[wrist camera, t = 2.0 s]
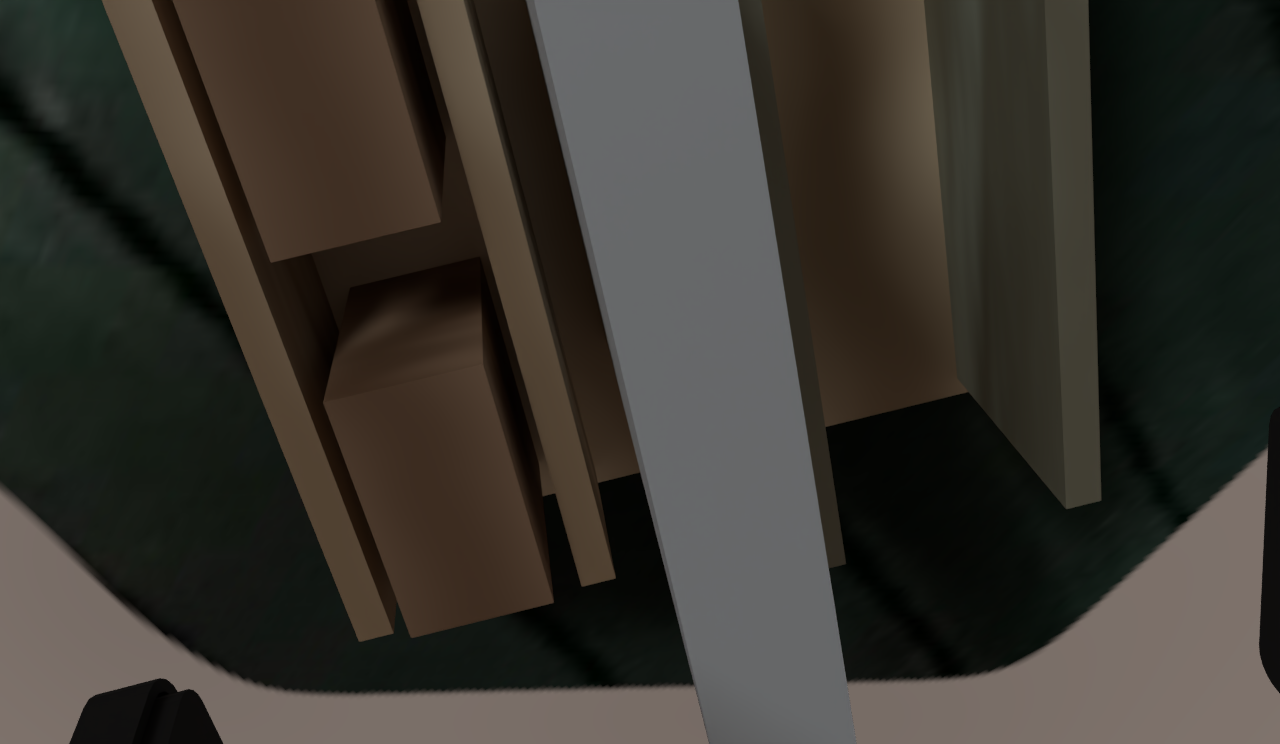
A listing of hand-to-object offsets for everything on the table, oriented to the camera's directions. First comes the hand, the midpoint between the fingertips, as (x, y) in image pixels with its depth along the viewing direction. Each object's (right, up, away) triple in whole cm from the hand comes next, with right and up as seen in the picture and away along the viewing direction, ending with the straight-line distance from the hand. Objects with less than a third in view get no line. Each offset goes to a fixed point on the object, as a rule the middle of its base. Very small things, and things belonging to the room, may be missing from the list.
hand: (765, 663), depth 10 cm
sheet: (-2, +9, +17) cm, 19 cm away
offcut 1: (-8, +10, +16) cm, 20 cm away
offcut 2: (-6, +2, +20) cm, 21 cm away
